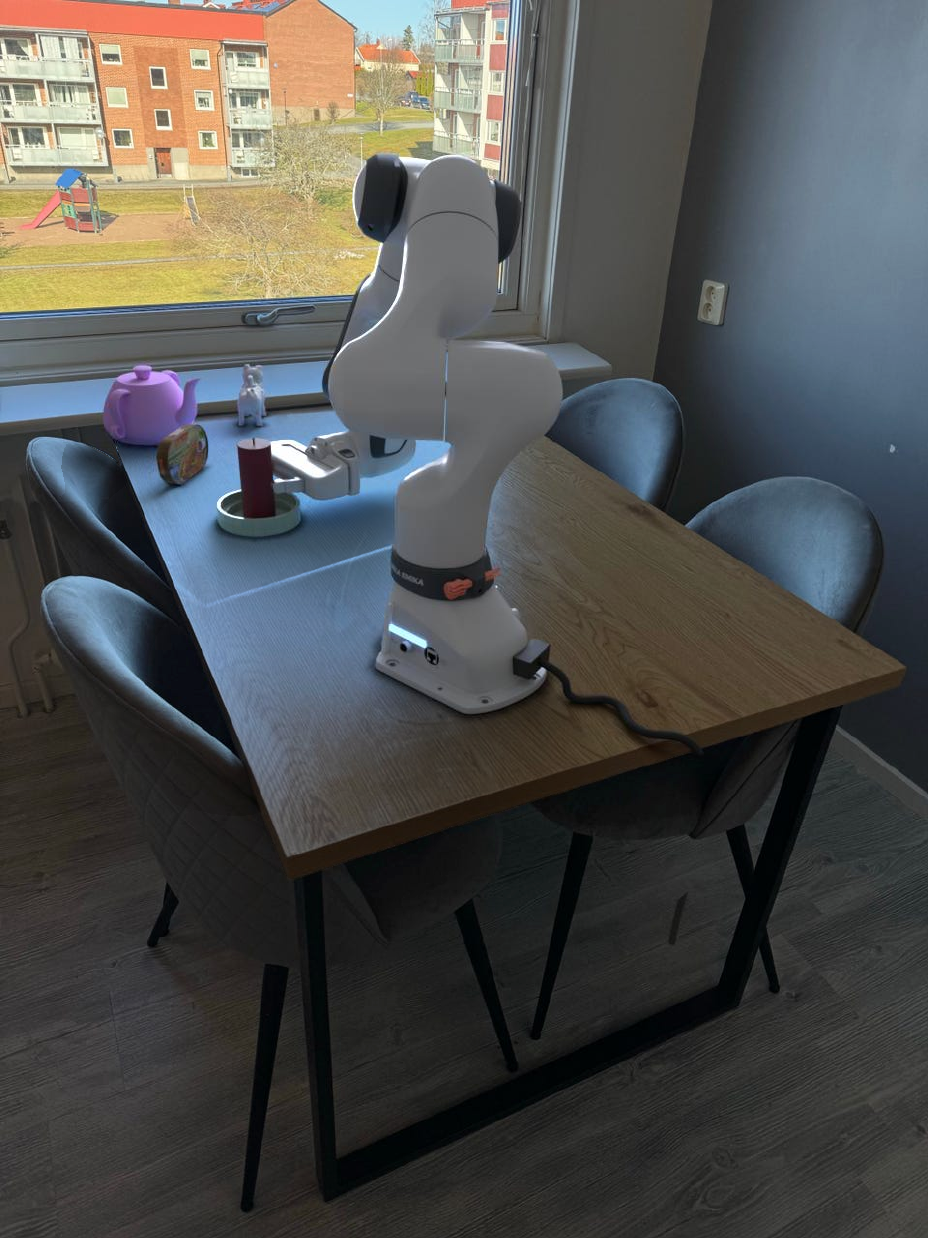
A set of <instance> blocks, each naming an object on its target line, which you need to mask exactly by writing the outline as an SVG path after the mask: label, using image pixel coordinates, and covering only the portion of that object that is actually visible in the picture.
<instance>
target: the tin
mask: <svg viewBox="0 0 928 1238" xmlns="http://www.w3.org/2000/svg"><path fill="white" fill-rule="evenodd" d="M155 454H156V455H155V456H156V457H155V459H156V464H157V469H158V474H159V477H160V479H161V480H162V481H163V482H164V483H167V484H173V485H174V484H175V485H184V484H185V483H186V482H188V481H189V480H190V479H191V478H193V477H194V476H195V475H196V474H198V473H199V472H200V471H202V470H203V469H204V468H205V466H206V464H207V461H208V457H209V439H208V436H207V433H206V430H205V429H204V427H203V426H202V425H200V424H198V423H194V424H193V425H183V426H181V427H180V428H178V429H177V430H175V431H174V432H172V433H171V434H169V435H168V436H166V437H165V438H164V439H162V440H161V442H160V443H159V445H157V449H156V453H155Z"/></svg>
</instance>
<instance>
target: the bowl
mask: <svg viewBox="0 0 928 1238" xmlns="http://www.w3.org/2000/svg"><path fill="white" fill-rule="evenodd" d="M274 496H275V511H276V516H275V517H269V518H256V519H252V518H244V517H243V506H242V495H241V489H238V490H234V491H231V492H228V493H227V494H225V495H223V496H221V497H220V498H219V499H218V501H217V502H216V514H217V523H218V525H219V526H220V528H221V529H223V530H224V531H226V532H227V533H230V534H233V535H237V536H242V537H254V538H256V537H257V538H258V537H268V536H276V535H279V534H283V533H286V532H289V531H291V530H292V529H295V527H297V526H298V525H299V524H300V522H301V519H302V518H301V517H302V515H301V501H300V498H299V497H298V496H297V495H296V494H295V493H292V492H284V493H279V494H276V493H275V492H274Z"/></svg>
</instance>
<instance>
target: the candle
mask: <svg viewBox="0 0 928 1238" xmlns="http://www.w3.org/2000/svg"><path fill="white" fill-rule="evenodd" d="M271 442H272V441H270V440H268V439H267V438H262V437H261V438H259V437H251V438H250V437H249V438H243V439H241V440H239V441H237V443H236V449H237V460H238V471H239V481H240V482H239V483H240V490H241V495H242V506H243V517H244V518H252V519H256V518H269V517H275V516H276V511H275V496H274V492H273V491H272V490H271V485H270V483H271V481H273V480H274V475H273V467H272V452H271Z"/></svg>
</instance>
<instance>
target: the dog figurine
mask: <svg viewBox="0 0 928 1238" xmlns="http://www.w3.org/2000/svg"><path fill="white" fill-rule="evenodd" d="M242 380H243V384H242V385H241V388H240V391H239V393H238V398H237V401H236V405H237V414H238V426H240V427H241V426H244V425H245V417H249V416H250V415H251V416H253V417H254V418H255V420H256V423H255V426H257V427H262V426H263V420H262V417H266V416H267V412H266V407H265V400H266V392H265V387H264V385H263V380H264V373H263V368H262V365H255V366H254V367H251V366H250V364H247V363H246V364H244V366H243V370H242Z"/></svg>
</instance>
